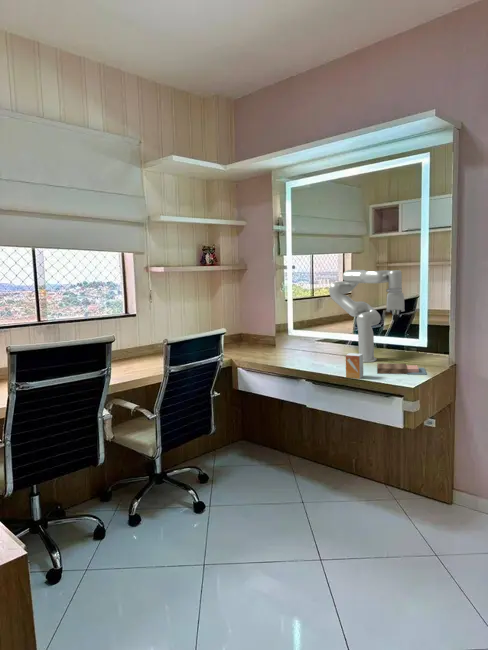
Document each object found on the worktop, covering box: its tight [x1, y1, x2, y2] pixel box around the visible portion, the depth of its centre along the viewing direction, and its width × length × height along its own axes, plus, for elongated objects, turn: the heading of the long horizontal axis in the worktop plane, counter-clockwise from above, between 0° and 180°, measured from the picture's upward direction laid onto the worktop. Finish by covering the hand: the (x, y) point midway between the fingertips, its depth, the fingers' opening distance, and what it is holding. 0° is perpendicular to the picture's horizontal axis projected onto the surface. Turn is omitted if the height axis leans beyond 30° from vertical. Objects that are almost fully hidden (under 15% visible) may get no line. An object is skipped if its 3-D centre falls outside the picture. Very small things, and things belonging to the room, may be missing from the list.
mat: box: [406, 367, 427, 376], centre depth 248 cm, size 10×15×1 cm, turn 163°
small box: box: [345, 352, 364, 380], centre depth 243 cm, size 8×6×13 cm
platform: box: [376, 362, 408, 375], centre depth 252 cm, size 16×13×3 cm
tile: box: [406, 364, 419, 373], centre depth 249 cm, size 6×9×2 cm, turn 164°
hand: (395, 321), depth 264 cm, fingers closed
